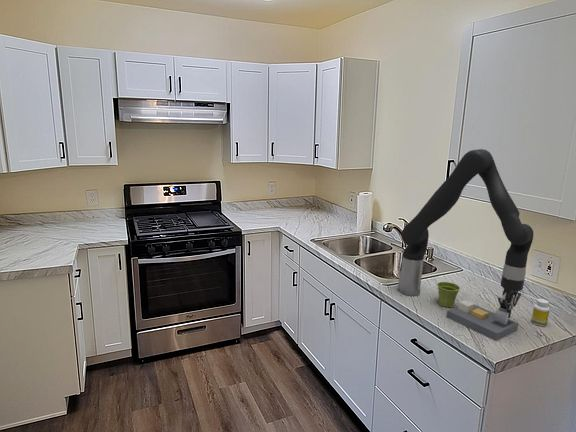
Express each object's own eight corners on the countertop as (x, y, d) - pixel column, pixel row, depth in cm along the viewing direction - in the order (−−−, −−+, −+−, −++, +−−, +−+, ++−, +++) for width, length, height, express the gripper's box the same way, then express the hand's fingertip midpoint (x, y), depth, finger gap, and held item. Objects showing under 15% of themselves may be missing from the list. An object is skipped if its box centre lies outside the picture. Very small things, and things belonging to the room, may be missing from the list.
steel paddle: (494, 321, 153) (496, 306, 151) (496, 320, 153) (499, 305, 152) (504, 325, 149) (507, 310, 148) (506, 324, 150) (509, 309, 149)
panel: (446, 317, 162) (447, 310, 161) (467, 308, 170) (468, 302, 169) (496, 340, 145) (497, 333, 144) (517, 330, 153) (518, 322, 152)
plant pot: (462, 306, 172) (465, 288, 170) (447, 310, 167) (449, 291, 165) (445, 298, 180) (447, 280, 178) (430, 301, 175) (432, 283, 173)
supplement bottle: (547, 327, 155) (552, 304, 153) (532, 324, 157) (536, 302, 155) (544, 321, 160) (549, 299, 158) (529, 318, 162) (533, 296, 160)
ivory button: (457, 310, 163) (458, 302, 162) (463, 308, 165) (465, 299, 165) (467, 315, 159) (468, 306, 158) (473, 312, 162) (475, 303, 161)
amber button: (470, 319, 159) (471, 310, 158) (476, 317, 161) (478, 308, 160) (480, 324, 155) (482, 315, 154) (487, 321, 157) (488, 312, 156)
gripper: (512, 269, 156) (505, 309, 160) (494, 276, 149) (487, 317, 153) (532, 275, 150) (524, 317, 154) (514, 282, 143) (506, 326, 147)
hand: (506, 317), depth 153 cm, fingers closed
